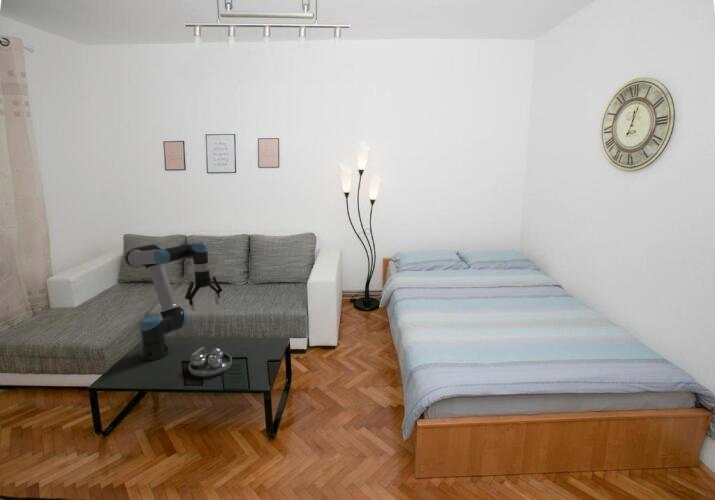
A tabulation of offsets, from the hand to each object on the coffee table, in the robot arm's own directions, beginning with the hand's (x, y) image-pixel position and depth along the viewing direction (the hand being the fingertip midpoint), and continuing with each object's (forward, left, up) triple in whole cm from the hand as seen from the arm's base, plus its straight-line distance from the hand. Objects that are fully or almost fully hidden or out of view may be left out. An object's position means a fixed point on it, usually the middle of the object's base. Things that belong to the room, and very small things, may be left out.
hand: (205, 307), depth 218 cm
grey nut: (+14, -4, -30) cm, 33 cm away
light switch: (0, -7, -32) cm, 32 cm away
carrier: (+8, -4, -32) cm, 33 cm away
